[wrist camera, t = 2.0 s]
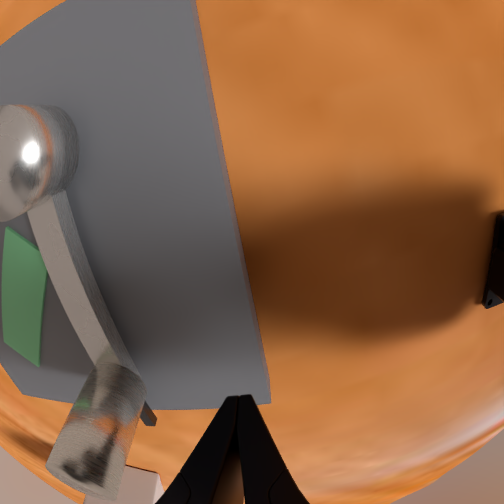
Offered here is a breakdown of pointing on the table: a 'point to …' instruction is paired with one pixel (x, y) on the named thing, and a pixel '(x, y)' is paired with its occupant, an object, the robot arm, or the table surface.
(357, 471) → the table surface
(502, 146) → the table surface
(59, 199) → the lever
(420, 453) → the table surface
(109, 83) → the board
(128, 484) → the milk carton
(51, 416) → the table surface
